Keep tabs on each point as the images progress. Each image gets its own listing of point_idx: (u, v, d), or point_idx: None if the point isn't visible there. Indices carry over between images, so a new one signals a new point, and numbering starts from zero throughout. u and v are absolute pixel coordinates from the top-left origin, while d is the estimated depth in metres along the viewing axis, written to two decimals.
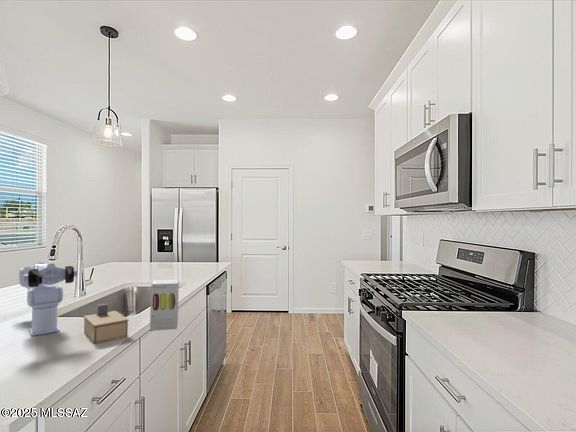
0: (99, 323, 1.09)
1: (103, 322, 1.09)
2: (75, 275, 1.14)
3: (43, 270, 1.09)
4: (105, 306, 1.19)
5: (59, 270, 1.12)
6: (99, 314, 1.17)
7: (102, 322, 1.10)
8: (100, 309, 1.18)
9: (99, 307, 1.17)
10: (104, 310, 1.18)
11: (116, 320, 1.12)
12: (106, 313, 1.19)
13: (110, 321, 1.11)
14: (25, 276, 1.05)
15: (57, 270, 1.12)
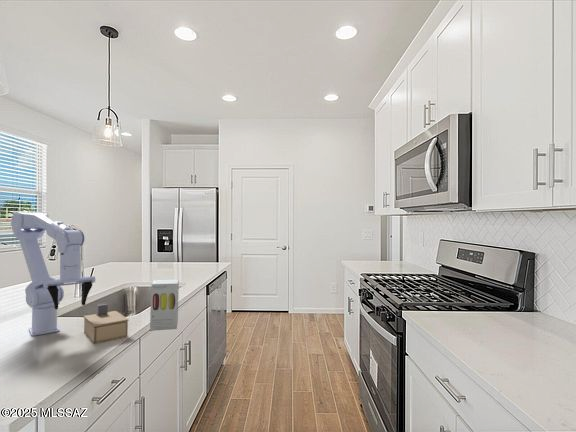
0: (99, 323, 1.09)
1: (103, 322, 1.09)
2: None
3: (64, 282, 1.09)
4: (105, 306, 1.19)
5: (79, 281, 1.13)
6: (99, 314, 1.17)
7: (102, 322, 1.10)
8: (100, 309, 1.18)
9: (99, 307, 1.17)
10: (104, 310, 1.18)
11: (116, 320, 1.12)
12: (106, 313, 1.19)
13: (110, 321, 1.11)
14: (45, 287, 1.07)
15: None
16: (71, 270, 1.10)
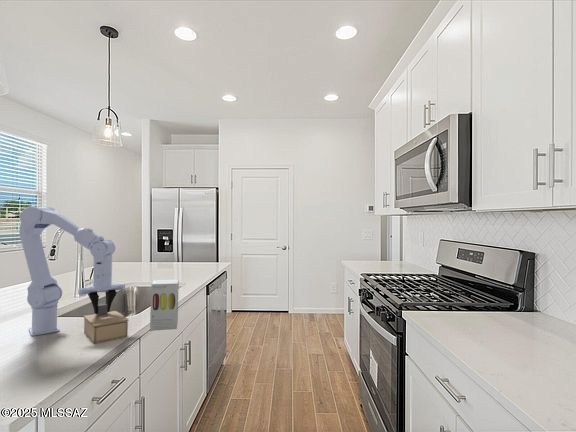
0: (99, 323, 1.09)
1: (103, 322, 1.09)
2: None
3: (97, 290, 1.16)
4: (105, 306, 1.19)
5: (110, 288, 1.20)
6: (99, 314, 1.17)
7: (102, 322, 1.10)
8: (100, 309, 1.18)
9: (99, 307, 1.17)
10: (104, 310, 1.18)
11: (116, 320, 1.12)
12: (106, 313, 1.19)
13: (110, 321, 1.11)
14: (80, 294, 1.14)
15: None
16: (104, 279, 1.17)
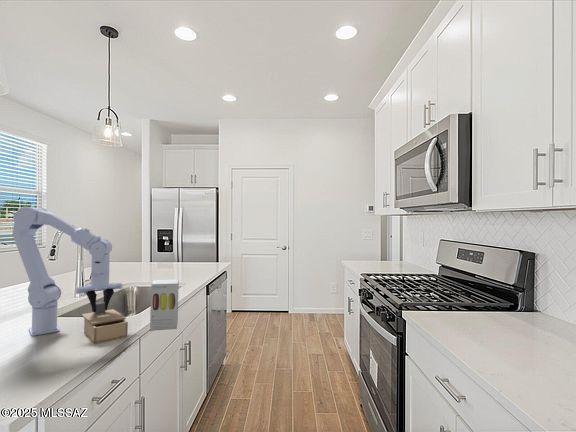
0: (97, 321, 1.11)
1: (100, 320, 1.12)
2: None
3: None
4: (103, 304, 1.21)
5: None
6: (97, 312, 1.20)
7: (100, 320, 1.12)
8: (98, 307, 1.20)
9: (97, 305, 1.20)
10: (102, 308, 1.21)
11: (113, 318, 1.14)
12: (104, 311, 1.21)
13: (107, 319, 1.13)
14: None
15: None
16: (102, 277, 1.19)
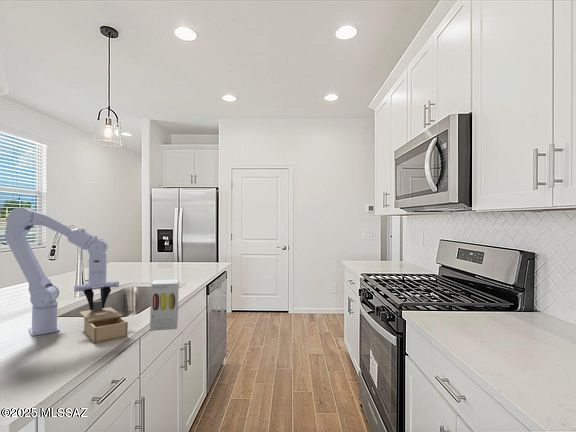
0: (94, 318, 1.14)
1: (97, 318, 1.14)
2: (116, 286, 1.29)
3: (92, 287, 1.21)
4: (100, 302, 1.24)
5: (105, 285, 1.25)
6: (94, 310, 1.22)
7: (97, 317, 1.15)
8: (95, 305, 1.23)
9: (94, 303, 1.22)
10: (99, 306, 1.24)
11: (110, 316, 1.17)
12: (101, 309, 1.24)
13: (104, 316, 1.16)
14: (76, 291, 1.19)
15: None
16: (99, 276, 1.22)
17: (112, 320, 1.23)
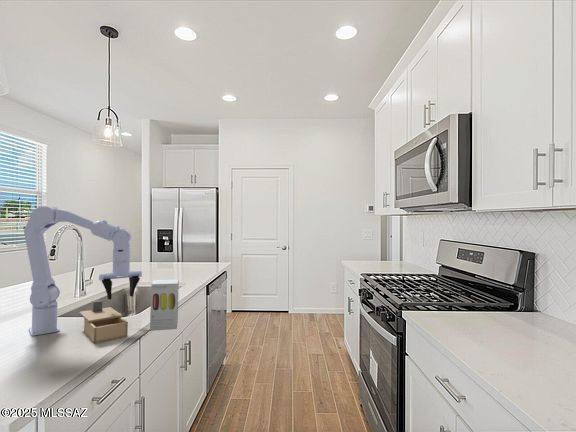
0: (94, 318, 1.14)
1: (97, 318, 1.14)
2: None
3: (116, 276, 1.23)
4: (100, 302, 1.24)
5: (128, 275, 1.27)
6: (94, 310, 1.22)
7: (97, 317, 1.15)
8: (95, 305, 1.23)
9: (94, 303, 1.22)
10: (99, 306, 1.24)
11: (110, 316, 1.17)
12: (101, 309, 1.24)
13: (104, 316, 1.16)
14: None
15: None
16: (123, 265, 1.24)
17: (112, 320, 1.23)
